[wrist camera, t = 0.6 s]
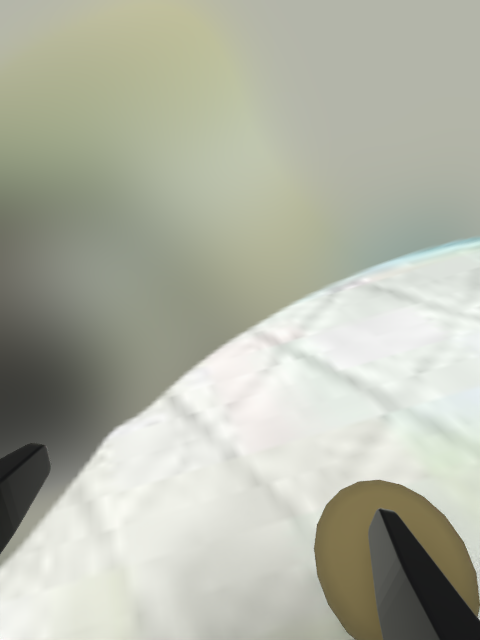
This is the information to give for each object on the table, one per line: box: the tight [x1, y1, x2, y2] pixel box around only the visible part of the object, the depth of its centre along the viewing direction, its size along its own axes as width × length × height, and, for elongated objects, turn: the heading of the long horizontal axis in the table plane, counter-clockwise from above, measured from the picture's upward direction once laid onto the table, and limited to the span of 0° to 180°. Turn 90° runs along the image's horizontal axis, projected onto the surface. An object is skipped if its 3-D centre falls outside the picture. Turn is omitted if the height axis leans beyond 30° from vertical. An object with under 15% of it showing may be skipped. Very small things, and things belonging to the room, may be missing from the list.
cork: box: [314, 480, 480, 640], centre depth 14 cm, size 6×6×11 cm
